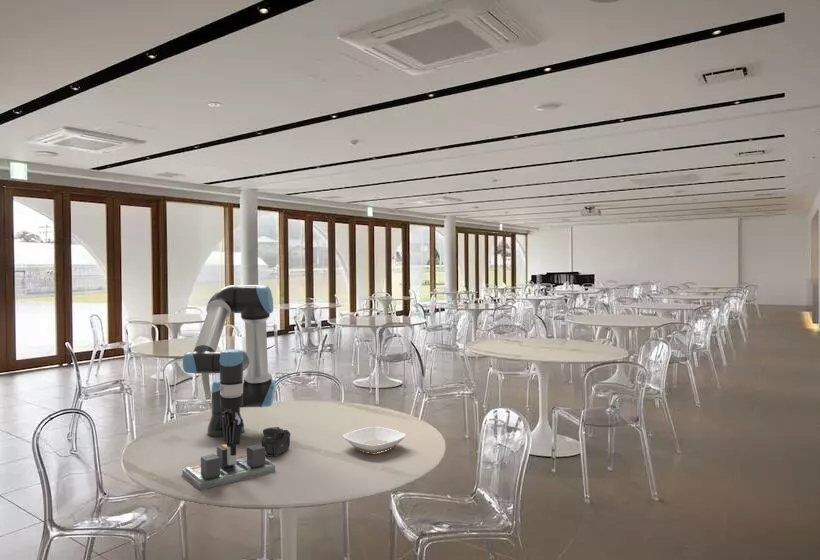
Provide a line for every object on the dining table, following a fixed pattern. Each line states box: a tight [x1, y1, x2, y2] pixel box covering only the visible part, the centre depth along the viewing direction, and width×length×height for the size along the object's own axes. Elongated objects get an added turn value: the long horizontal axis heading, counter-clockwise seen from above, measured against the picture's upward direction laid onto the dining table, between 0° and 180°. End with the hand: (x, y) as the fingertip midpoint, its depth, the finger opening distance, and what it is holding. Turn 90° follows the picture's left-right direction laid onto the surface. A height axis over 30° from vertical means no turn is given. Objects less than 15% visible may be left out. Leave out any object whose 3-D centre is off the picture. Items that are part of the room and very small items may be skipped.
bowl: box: [342, 426, 407, 453], centre depth 219 cm, size 22×22×5 cm
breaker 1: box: [200, 453, 220, 479], centre depth 183 cm, size 5×4×6 cm
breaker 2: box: [216, 443, 235, 468], centre depth 194 cm, size 5×4×6 cm
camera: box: [261, 426, 291, 457], centre depth 214 cm, size 13×10×10 cm
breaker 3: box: [246, 443, 266, 468], centre depth 194 cm, size 5×4×6 cm
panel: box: [182, 454, 276, 491], centre depth 192 cm, size 17×26×3 cm, turn 130°
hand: (231, 463), depth 190 cm, fingers closed
